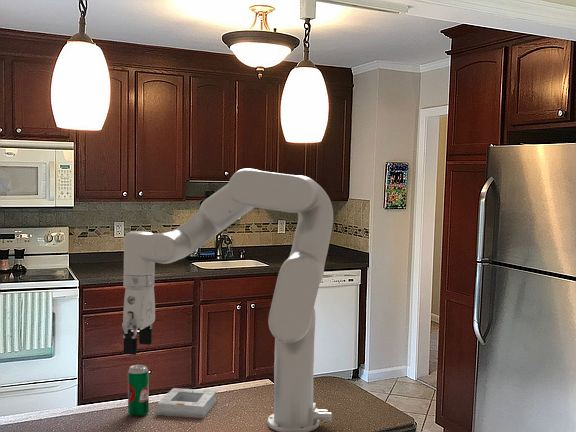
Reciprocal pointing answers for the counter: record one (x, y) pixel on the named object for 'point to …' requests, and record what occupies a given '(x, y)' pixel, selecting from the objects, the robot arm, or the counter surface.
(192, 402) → the plate
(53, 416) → the counter surface
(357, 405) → the counter surface
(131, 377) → the soda can
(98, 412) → the counter surface
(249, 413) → the counter surface
